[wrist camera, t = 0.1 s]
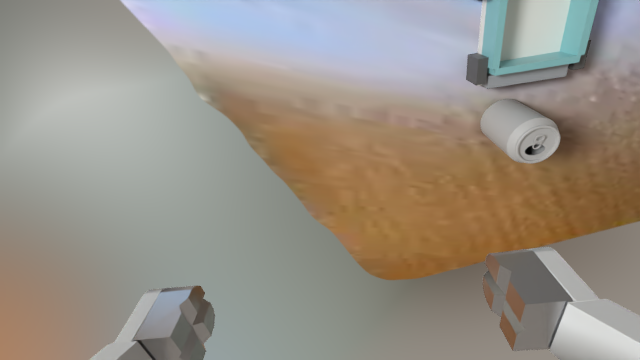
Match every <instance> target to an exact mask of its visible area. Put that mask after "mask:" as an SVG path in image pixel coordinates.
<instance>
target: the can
mask: <svg viewBox="0 0 640 360" xmlns="http://www.w3.org/2000/svg"><path fill="white" fill-rule="evenodd" d="M481 130H482V132H483V133H484V134H485V135H486V136H487V137H488V138H489V139H490V140H491V141H493V142H494V143H495V144H496V145H497V146H498V147H499V148H500V149H502V150H503V151H504V152H505V153H506V154H507V155H508V156H509V157H511V158H512V159H513V160H515V161H517V162H525V163H537V162H541V161H543V160H545V159H547V158H548V157H549V156H551V155H552V154H553V153H554V152H555V150H556V149H557V148H558V146H559V143H560V133H559V130H558V127H557V125H556V124H555V123H554V122H553V121H552V120H550V119H549V118H547V117H545V116H543V115H542V114H540V113H538V112H536V111H534V110H533V109H531V108H529V107H527V106H526V105H524V104H522V103H520V102H518V101H516V100H513V99H504V100H500V101H498V102H496V103H494V104H492V105H491V106H490V107H489V108H488V109H487V110H486V111H485V113H484V114H483V116H482V119H481Z"/></svg>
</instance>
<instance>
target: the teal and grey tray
mask: <svg viewBox="0 0 640 360" xmlns="http://www.w3.org/2000/svg"><path fill="white" fill-rule="evenodd" d="M598 1H599V0H482V10H481V21H480V32H479V43H478V53H475V54H469V55H468V63H467V76H466V80H468V81H470V82H471V83H473V84H475V85H478V86H483V87H485V88H487V89H488V88H495V87H501V86H507V85H514V84H520V83H526V82H533V81H539V80H545V79H552V78H558V77H564V76H566V74H567V70H568V68H569V69H572V70H576V69H582V68H584V65H585V61H586V57H587V53H588V50H589V46H590V42H591V40H589V36H590V32H591V28H592V24H593V20H594V17H595V13H596V9H597V5H598Z"/></svg>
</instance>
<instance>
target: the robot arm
mask: <svg viewBox="0 0 640 360" xmlns="http://www.w3.org/2000/svg"><path fill="white" fill-rule="evenodd" d="M485 265H486V266H487V268H488V271H487V272H486V273H485V274H484V275H483V283H482V285H483V291H484V295H485V298H486V301H487V303H488V305H489V307H490V309H491V311H493V312H494V313H496V314H497V315H499V316H500V317H501V321H500V328H501V330H502V332H503V333H504V335H505V337H506V339H507V341H508V343H509V345H510V347H511V349H512V350H513V351H520V350H540V349H550V352H551V353H553V354H554V355H555V356H556V357H557V358H558V359H560V360H640V316H639V315H638V314H636V313H634V312H632V311H630V310H628V309H626V308H624V307H622V306H620V305H618V304H616V303H614V302H612V301H610V300H608V299H599V298H598V297H597V296H596V294H595V293H594V292H593V291H592V290H591V289H590V288H589V287H588V286H587V285H586V283H584V281H583V280H582V279H581V278H580V277H579V276H578V275H577V274H576V273H575V271H574V270H573V269H572V268H571V267H570V266H569V265H568V264H567V263H566V262H565V260H564V259H563V258H562V257H561V256H560V255H559V254H558V253H557V252H556V250H555V249H553V248H550V247H543V248H534V249H528V250H527V249H523V250H515V251H506V252H498V253H490V254H488V255H487V257H486V261H485ZM204 294H205V292H204V291H203V289H202V288H201V286H186V287H174V288H164V289H153V290H149V291H147V292H146V293H145V294H144V295H143V297H142V298H141V299H140V301H139V303H138V305H137V306H136V308H135V310H134V311H133V313H132V314H131V316H130V318H129V319H128V321H127V322H126V324H125V326H124V327H123V329H122V331H121V333H120V334H119V336H118V338H117V339H116V340H115V342H114V343H111V344H108V345H107V346H105V347H104V348H103V349H102V350H101V351H99V352H98V353H97V354H96V355H94V356H93V357H92V358H91V359H90V360H203V358H204V355H205V352H206V350H205V347H204V342H206V340H207V339H208V338H209V337H210V336H211V334H212V331H213V328H214V319H215V314H214V310H213V307H212V305H211V303H210V302H208V301H206V300H205V299H203V297H204Z"/></svg>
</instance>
